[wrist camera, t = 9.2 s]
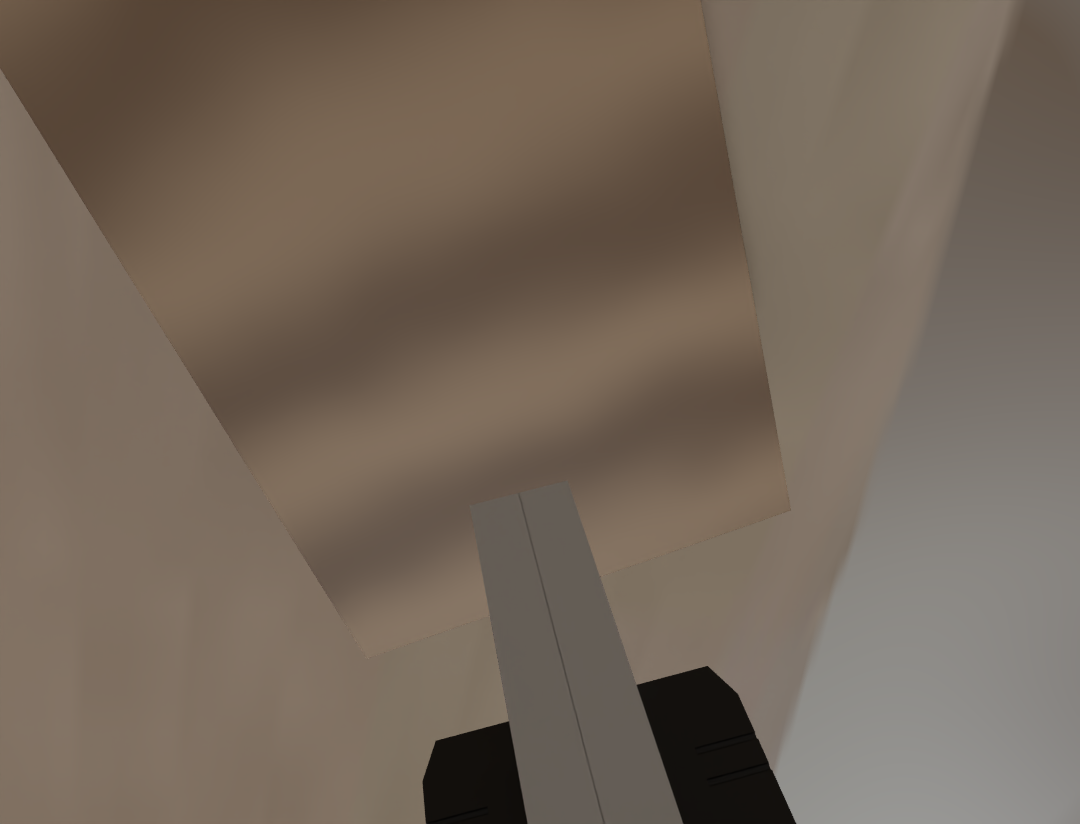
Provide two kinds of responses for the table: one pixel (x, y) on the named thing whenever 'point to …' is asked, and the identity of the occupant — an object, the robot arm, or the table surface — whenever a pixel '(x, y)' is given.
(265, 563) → the table surface
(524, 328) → the walnut base brick
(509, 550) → the robot arm
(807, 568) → the table surface
